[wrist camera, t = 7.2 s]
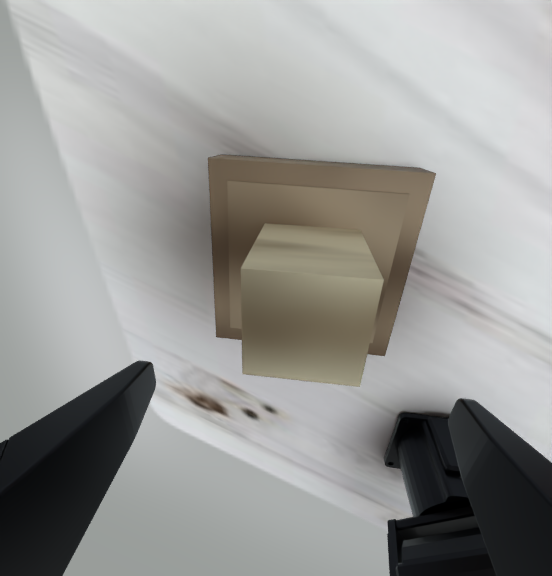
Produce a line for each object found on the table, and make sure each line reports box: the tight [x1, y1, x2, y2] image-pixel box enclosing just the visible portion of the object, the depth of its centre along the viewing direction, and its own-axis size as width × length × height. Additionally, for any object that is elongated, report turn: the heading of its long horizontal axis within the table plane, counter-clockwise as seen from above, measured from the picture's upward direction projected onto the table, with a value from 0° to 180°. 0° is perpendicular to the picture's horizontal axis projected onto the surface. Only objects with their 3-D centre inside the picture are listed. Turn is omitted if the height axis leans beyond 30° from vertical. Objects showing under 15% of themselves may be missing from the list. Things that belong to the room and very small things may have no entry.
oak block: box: [241, 223, 384, 387], centre depth 14 cm, size 5×5×6 cm
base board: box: [208, 155, 436, 356], centre depth 18 cm, size 11×11×3 cm
